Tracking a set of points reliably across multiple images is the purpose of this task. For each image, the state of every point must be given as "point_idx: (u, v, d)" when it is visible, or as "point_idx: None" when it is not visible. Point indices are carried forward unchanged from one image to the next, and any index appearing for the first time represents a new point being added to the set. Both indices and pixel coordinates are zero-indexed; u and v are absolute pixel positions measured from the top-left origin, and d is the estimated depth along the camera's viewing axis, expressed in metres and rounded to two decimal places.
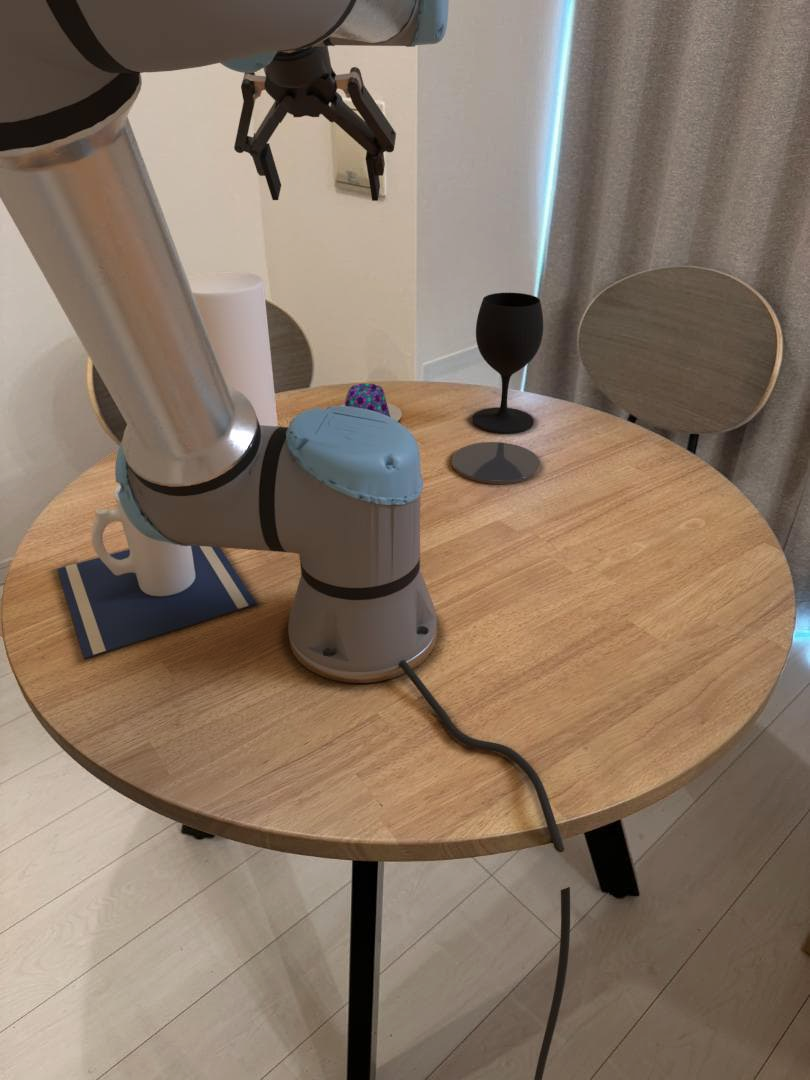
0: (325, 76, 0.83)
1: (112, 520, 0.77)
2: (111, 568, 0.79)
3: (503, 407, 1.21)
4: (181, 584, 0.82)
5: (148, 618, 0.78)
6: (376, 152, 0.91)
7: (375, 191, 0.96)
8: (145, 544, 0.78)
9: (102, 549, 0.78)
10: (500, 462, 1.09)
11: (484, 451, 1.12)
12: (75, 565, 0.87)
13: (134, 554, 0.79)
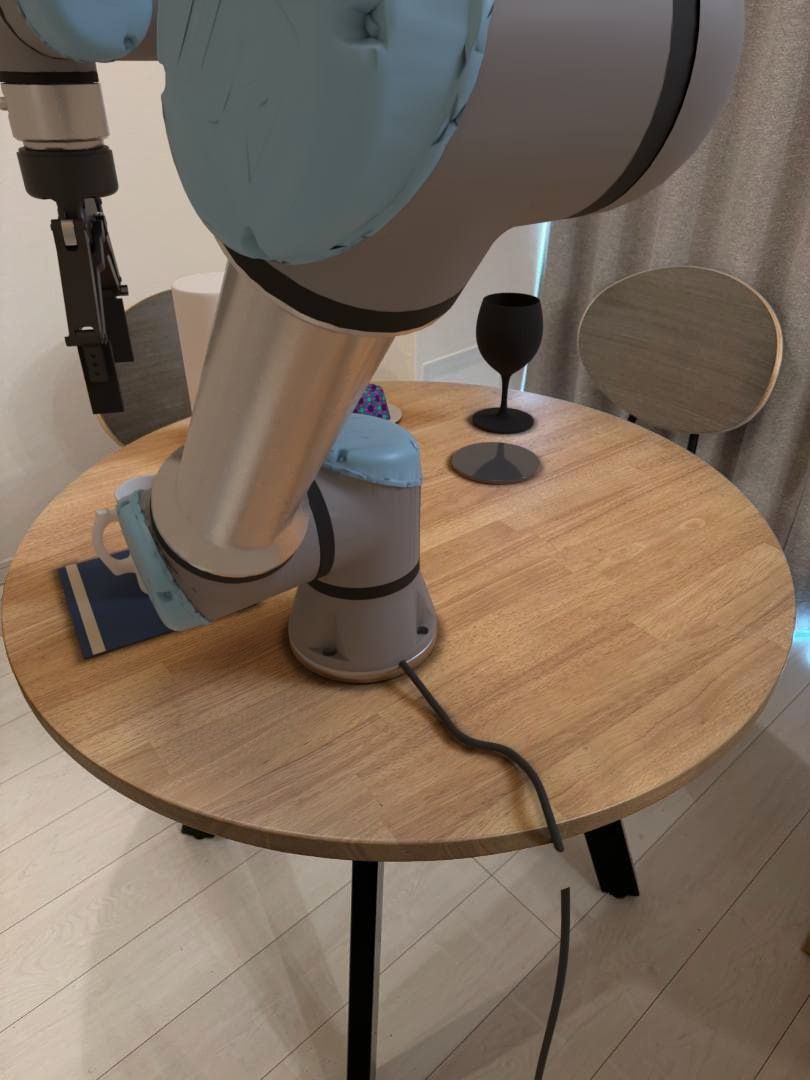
0: None
1: (112, 520, 0.77)
2: (111, 568, 0.79)
3: (503, 407, 1.21)
4: None
5: (148, 618, 0.78)
6: (121, 287, 0.76)
7: (131, 346, 0.79)
8: None
9: (102, 549, 0.78)
10: (500, 462, 1.09)
11: (484, 451, 1.12)
12: (75, 565, 0.87)
13: None
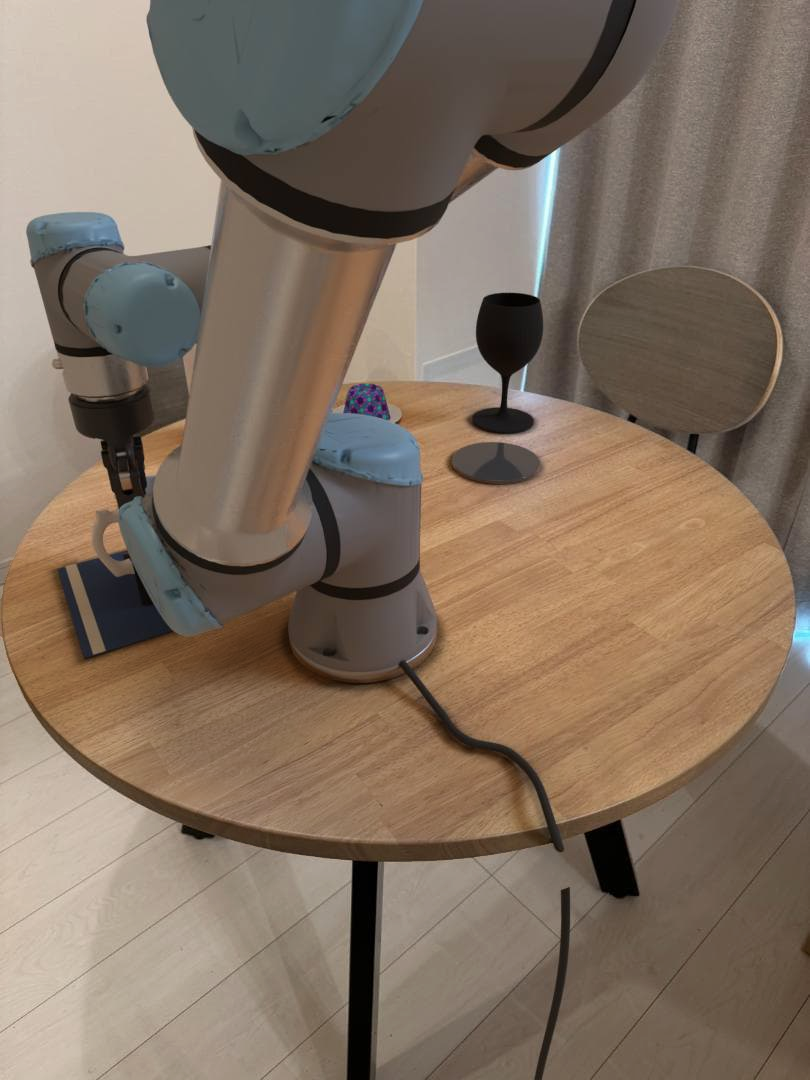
0: None
1: (113, 521, 0.77)
2: (111, 569, 0.79)
3: (503, 407, 1.21)
4: None
5: (148, 618, 0.78)
6: None
7: None
8: None
9: (102, 550, 0.78)
10: (500, 462, 1.09)
11: (484, 451, 1.12)
12: (75, 565, 0.87)
13: None
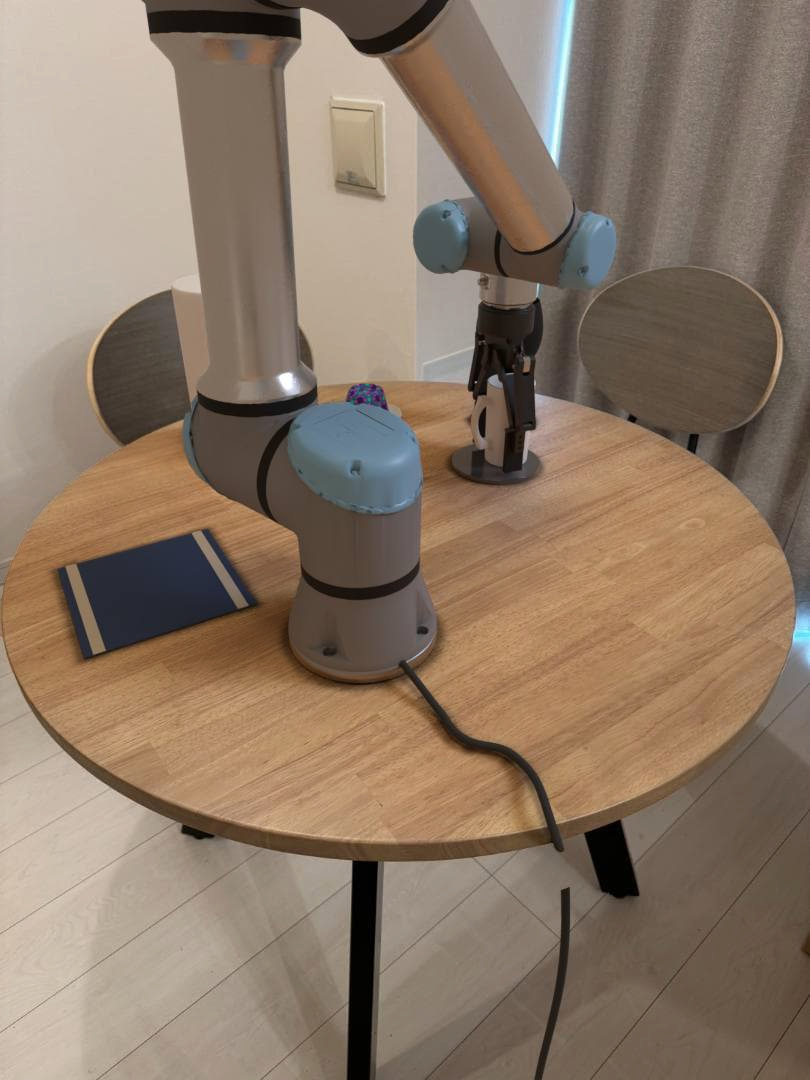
0: None
1: (488, 404, 1.03)
2: (479, 443, 1.05)
3: None
4: (523, 458, 1.08)
5: (148, 618, 0.78)
6: None
7: None
8: None
9: (477, 427, 1.04)
10: None
11: (484, 451, 1.12)
12: (75, 565, 0.87)
13: (496, 432, 1.05)
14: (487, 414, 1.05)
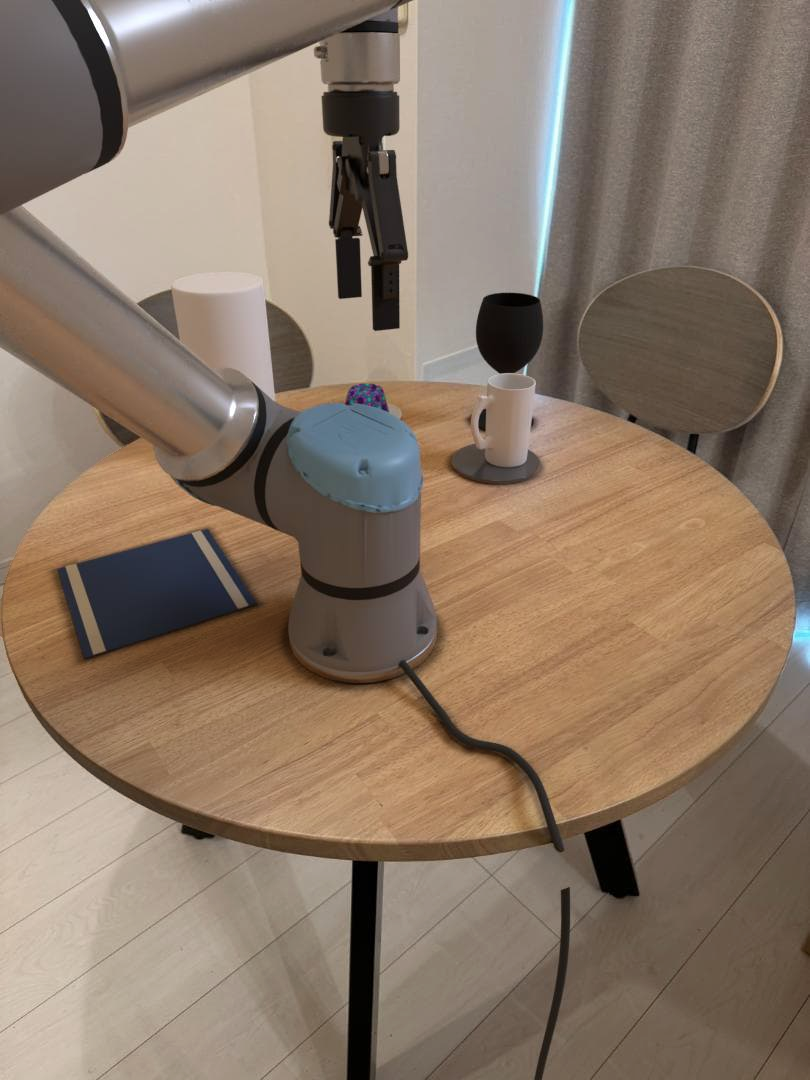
0: None
1: (488, 404, 1.03)
2: (479, 443, 1.05)
3: None
4: (523, 458, 1.08)
5: (148, 618, 0.78)
6: None
7: None
8: (510, 423, 1.03)
9: (477, 427, 1.04)
10: None
11: (484, 451, 1.12)
12: (75, 565, 0.87)
13: (496, 432, 1.05)
14: (487, 414, 1.05)
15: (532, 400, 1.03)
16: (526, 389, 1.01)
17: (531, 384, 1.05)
